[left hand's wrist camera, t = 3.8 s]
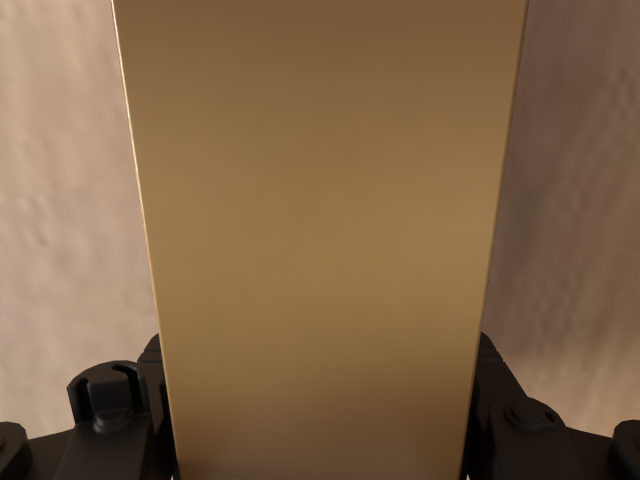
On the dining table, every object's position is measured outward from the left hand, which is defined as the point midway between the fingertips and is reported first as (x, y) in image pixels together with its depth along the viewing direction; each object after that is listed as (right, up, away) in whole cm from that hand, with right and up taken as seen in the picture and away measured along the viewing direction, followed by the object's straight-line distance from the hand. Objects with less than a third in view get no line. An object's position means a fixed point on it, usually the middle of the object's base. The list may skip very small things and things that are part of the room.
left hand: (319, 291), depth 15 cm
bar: (0, +7, -2) cm, 7 cm away
